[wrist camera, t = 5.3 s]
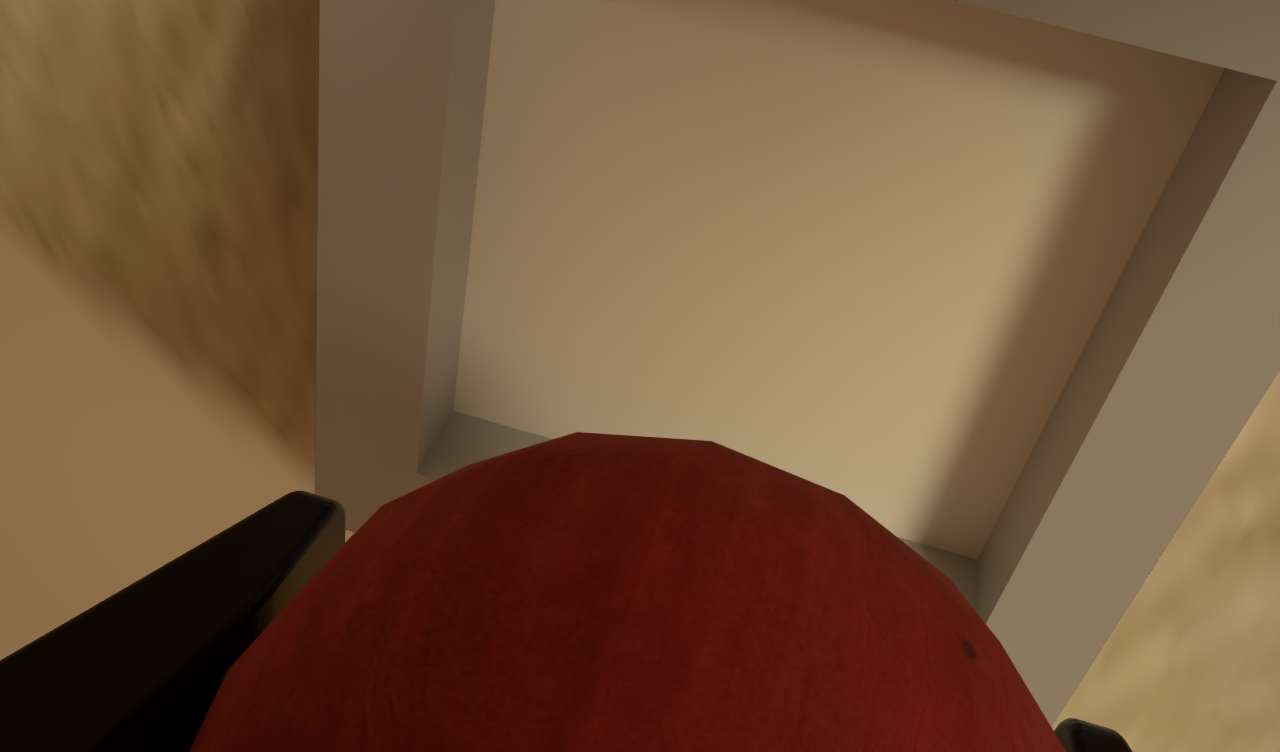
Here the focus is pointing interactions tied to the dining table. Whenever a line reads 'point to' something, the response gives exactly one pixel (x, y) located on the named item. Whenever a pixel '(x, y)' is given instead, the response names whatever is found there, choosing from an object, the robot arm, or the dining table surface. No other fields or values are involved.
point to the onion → (625, 621)
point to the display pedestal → (817, 262)
